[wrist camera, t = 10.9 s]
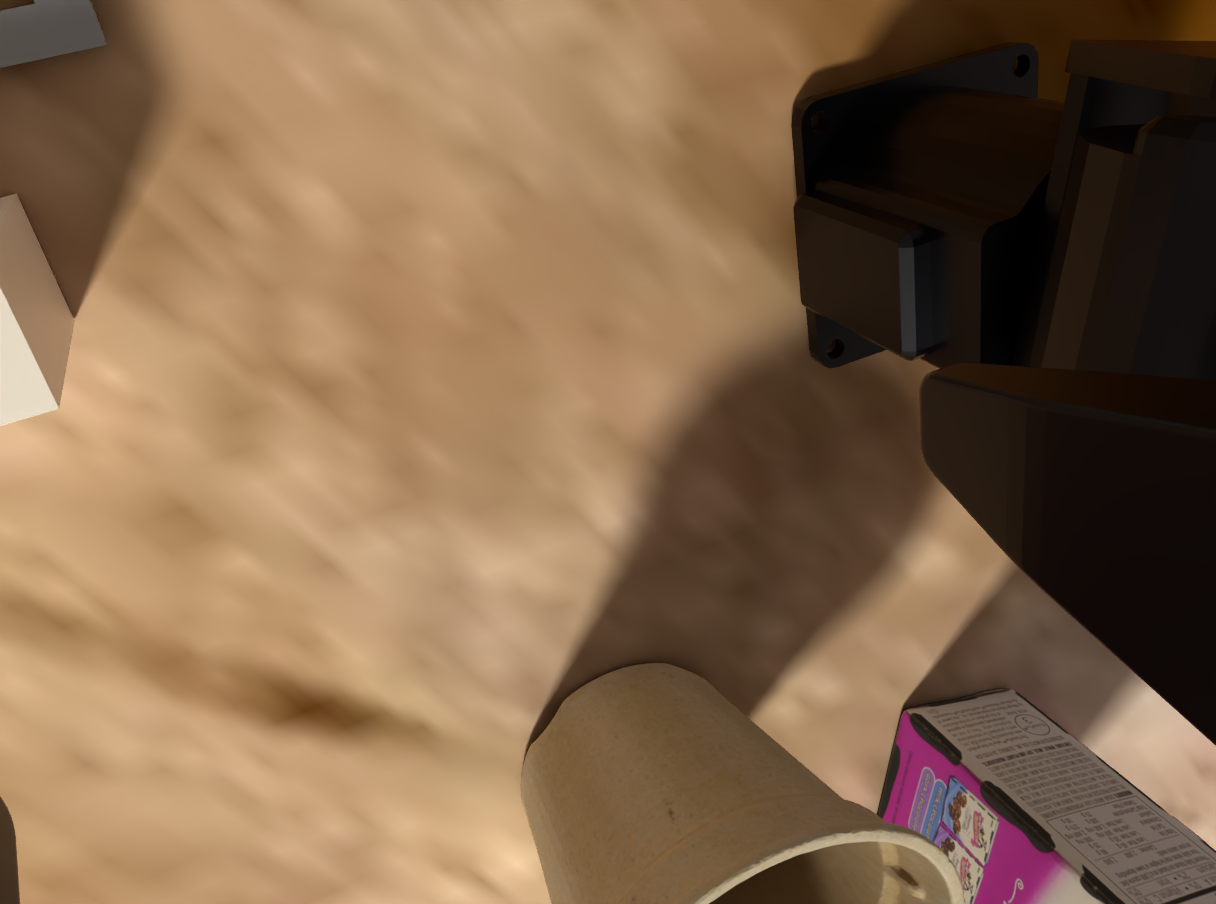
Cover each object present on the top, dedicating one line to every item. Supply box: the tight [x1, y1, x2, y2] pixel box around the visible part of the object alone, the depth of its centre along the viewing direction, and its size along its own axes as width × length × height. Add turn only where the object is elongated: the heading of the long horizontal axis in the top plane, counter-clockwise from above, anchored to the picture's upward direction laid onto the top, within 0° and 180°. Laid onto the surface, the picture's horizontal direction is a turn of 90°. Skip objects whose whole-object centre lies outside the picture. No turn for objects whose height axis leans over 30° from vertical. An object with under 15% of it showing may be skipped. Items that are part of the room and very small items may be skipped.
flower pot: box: [521, 663, 966, 904], centre depth 25 cm, size 9×9×9 cm
